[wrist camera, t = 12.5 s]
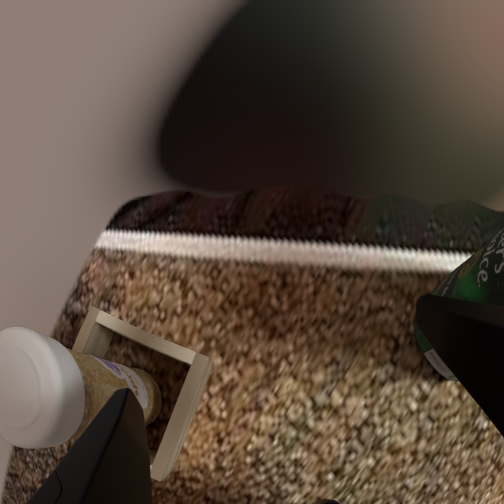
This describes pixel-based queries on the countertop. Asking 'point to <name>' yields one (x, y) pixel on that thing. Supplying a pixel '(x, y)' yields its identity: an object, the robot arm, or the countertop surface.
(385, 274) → the countertop surface
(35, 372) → the sprinkles bottle
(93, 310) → the guard collar
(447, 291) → the coffee jar
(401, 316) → the countertop surface
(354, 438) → the countertop surface
